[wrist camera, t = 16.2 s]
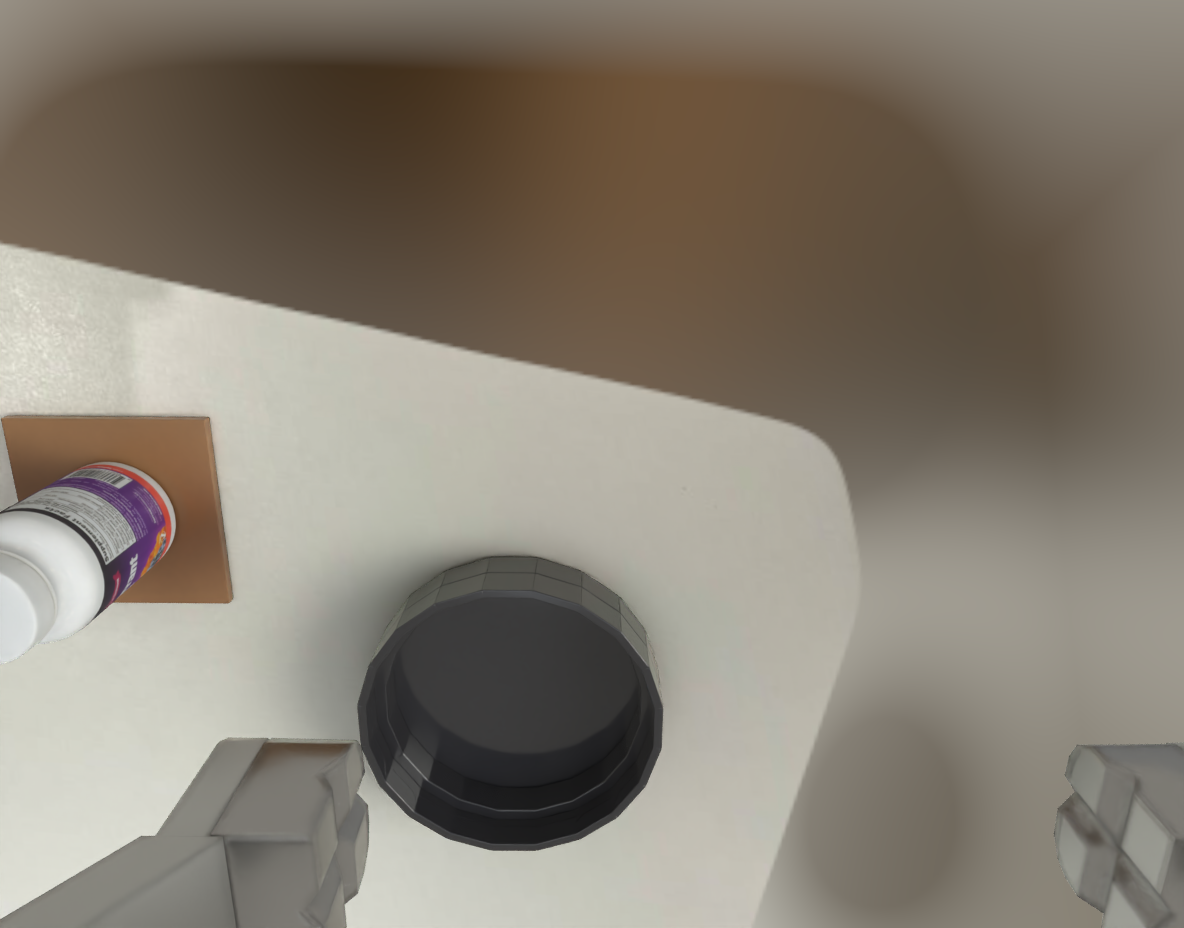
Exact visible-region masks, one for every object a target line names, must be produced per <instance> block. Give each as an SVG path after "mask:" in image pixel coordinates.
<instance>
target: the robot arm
mask: <svg viewBox="0 0 1184 928" xmlns="http://www.w3.org/2000/svg"><path fill="white" fill-rule="evenodd" d="M364 773H365V769H364V761H363V753H362V747H361V745H360V744H359V742H358V741H357V740H328V739H291V738H271V739H268V738H227V739H225V740H222V741H220V742H219V743H218V744H217V745H216V746H215V748H214V749H213V751H212V752H211V754H210V755H209V757H208V758H207V760H206V761H205V763H204V764H203V766H202V767H201V769H200V770H199V772H198V773H197V775H196V776H195V778H194V779H193V781H192V782H191V784H190V785H189V787H188V788H187V790H186V791H185V793H184V794H183V796H182V797H181V798H180V800H179V801H178V803H177V804H176V806H175V807H174V809H173V810H172V812H171V813H170V815H169V816H168V818H167V819H166V821H165V822H164V824H163V825H162V827H161V828H160V830H159V831H158V833H157V834H156V836H141V837H139V838H137V839H135V840H134V841H132V842H130V843H129V844H127V845H125V846H124V847H122V848H120V849H119V850H117V851H115V852H113V853H112V854H110V855H108V856H107V857H105V858H103V859H102V860H100V861H98V862H97V863H95V864H93V865H91V866H90V867H88V868H86V869H85V870H83V871H81V872H80V873H78V874H76V875H75V876H73V877H71V878H69V879H68V880H66V881H64V882H63V883H61V884H59V885H58V886H56V887H54V888H53V889H51V890H49V891H47V892H46V893H44V894H42V895H41V896H39V897H37V898H36V899H34V900H32V901H31V902H29V903H27V904H25V905H24V906H22V907H20V908H19V909H17V910H15V911H14V912H12V913H10V914H9V915H7V916H5V917H3V918H2V919H0V928H346V927H347V926H346V915H345V904H346V903H347V902H348V901H349V900H350V899H352V898H353V897H354V896H355V895H356V894H358V891H359V887H360V884H361V881H362V878H363V874H364V870H365V864H366V858H367V852H368V845H369V815H368V805H367V804H366V803H365V801H364V800H363V799H362V798H361V797H360V796H359V795H358V794H357V792H358V789H359V786H360V784H361V781H362V778H363V775H364ZM1065 776H1066V778H1067V780H1068V781H1069V783H1070V784H1071V786H1072V788H1073V789H1074V791H1075V792H1074V793H1073V794H1072V795H1071V796H1070V797H1069V798H1068V799H1067V800H1066V801H1065V802H1064V803H1063V804H1062V805H1061V806H1060V807H1059V808H1058V811H1057V818H1056V824H1055V831H1054V837H1055V843H1056V849H1057V857H1058V860H1059V863H1060V865H1061V868H1062V870H1063V873H1064V875H1065V878H1066V879H1067V880H1068V882H1069V884H1070V885H1071V887H1072V888H1073V890H1074V891H1075V893H1076V894H1077V896H1078V897H1079V898H1081V899H1082V900H1084V901H1086V902H1087V903H1088V904H1090V905H1091V906H1093V907H1095V908H1096V909H1098V910H1099V911H1101V912H1102V913H1104V914H1103V920H1102V926H1101V928H1184V743H1166V744H1146V745H1145V744H1144V745H1143V744H1140V745H1139V744H1138V745H1135V744H1132V745H1077V746H1076V747H1075V749H1074V750H1073V751H1072V753H1071V755H1070V756H1069V759H1068V764H1067V768H1066V772H1065Z"/></svg>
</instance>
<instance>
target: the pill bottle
mask: <svg viewBox="0 0 1184 928" xmlns="http://www.w3.org/2000/svg"><path fill="white" fill-rule="evenodd" d="M175 529H176V520H175V513H174V509H173V506H172V504H171V502H170V500H169V498H168V496H167V494H166V493H165V492H164V490H163V489H162V488H161V487H160V485H159V484H158V483H157V482H156V481H154V480H153V479H152V478H151V477H150V476H148V475H147V474H145V473H144V472H142V471H140V470H138V469H136V468H134V467H131V466H128V465H125V464H121V463H116V462H99V463H93V464H89V465H86V466H84V467H81V468H79V469H77V470H75V471H73V472H71V473H69V474H68V475H66V476H64V477H62V478H60V479H59V480H57V481H55V482H53V483H52V484H50V485H48V486H46V487H45V488H43V489H41V490H39V491H37V492H36V493H34V494H32V495H30V496H28V497H27V498H25V499H23V500H21V501H19V502H18V503H16V504H14V505H12V506H10V507H8V508H7V509H5V510H3V511H1V512H0V664H4V663H8V662H11V661H13V660H15V659H17V658H19V657H21V656H22V655H24V654H25V653H26V652H27V651H29V650H30V649H31V648H32V647H34V646H35V645H36V644H45V643H52V642H56V641H60V640H63V639H65V638H68V637H70V636H72V635H74V634H75V633H77V632H78V631H80V630H81V629H83V628H84V627H85V626H87V625H88V624H89V623H90V622H91V621H92V620H93V619H95V618H96V617H97V616H98V615H99V614H100V613H101V612H102V611H103V610H105V609H106V608H107V607H108V606H109V605H110V604H112V603H113V602H114V601H115V600H116V599H117V598H118V597H119V596H120V595H122V594H123V593H124V592H125V591H126V590H127V589H128V588H129V587H131V586H132V585H133V584H134V583H135V582H136V581H137V580H138V579H140V578H141V577H142V576H143V575H144V574H145V573H146V572H147V571H149V570H150V569H151V568H152V567H153V566H154V565H155V564H156V563H157V562H158V561H159V560H160V559H161V558H162V557H163V556H164V555H165V553H166V552H167V551H168V549H169V547H170V546H171V544H172V541H173V539H174V535H175Z"/></svg>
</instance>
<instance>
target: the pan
mask: <svg viewBox="0 0 1184 928" xmlns="http://www.w3.org/2000/svg"><path fill="white" fill-rule="evenodd" d="M357 708H358V719H359V731H360V742H361V747H362V750H363V752H364V754H365V756H366V759H367V761H368V763H369V765H370V767H371V769H372V771H373V774H374V776H375V778H376V780H377V782H378V784H379V786H380V787H381V788H382V789H383V790H384V791H385V792H386V793H387V794H388V795H389V796H390V797H391V798H392V799H393V800H394V801H395V803H396V804H397V805H398V806H399V807H400V808H401V809H402V810H403V811H404V812H405V813H406V814H407V815H408V816H409V817H411V818H412V819H414V820H416V821H418V822H419V823H421V824H423V825H424V826H426V827H428V828H430V829H431V830H433V831H435V832H436V833H438V834H440V835H442V836H443V837H445V838H447V839H450V840H454V841H458V842H461V843H465V844H469V845H472V846H476V847H480V848H484V849H487V850H494V851H536V850H537V851H538V850H541V849H545V848H549V847H553V846H557V845H561V844H565V843H569V842H572V841H576V840H579V839H582V838H583V837H585V836H587V835H588V834H590V833H592V832H594V831H595V830H597V829H599V828H600V827H602V826H604V825H606V824H607V823H609V822H611V821H612V820H614V819H616V818H617V817H618V816H619V815H620V814H621V813H622V812H623V811H624V810H625V809H626V807H627V806H628V805H629V804H630V803H631V802H632V801H633V800H634V799H635V798H636V796H637V795H638V794H639V793H640V792H641V791H642V790H643V789H644V788H645V786H646V784H647V782H648V780H649V777H650V775H651V772H652V770H653V768H654V765H655V763H656V761H657V758H658V756H659V753H660V751H661V748H662V725H663V703H662V696H661V689H660V682H659V674H658V667H657V664H656V661H655V658H654V655H653V652H652V649H651V646H650V643H649V640H648V637H647V634H646V631H645V630H644V628H643V626H642V625H641V624H640V622H639V621H638V620H637V619H636V617H635V616H634V615H633V613H632V612H631V611H630V610H629V608H628V607H627V606H626V604H625V603H624V602H623V601H622V599H621V598H620V597H618V595H616V594H615V593H613V592H612V591H611V590H609V589H608V588H606V587H605V586H603V585H602V584H600V583H599V582H597V581H596V580H594V579H593V578H591V577H590V576H588V575H587V574H585V573H584V572H581V571H580V570H577V569H574V568H570V567H567V566H564V565H560V564H557V563H554V562H551V561H547V560H544V559H541V558H537V557H491V558H487V559H483V560H480V561H476V562H473V563H470V564H466V565H463V566H459V567H456V568H453V569H449V570H448V571H445V572H443V573H442V574H440V575H439V576H437V577H436V578H434V579H433V580H431V581H430V582H429V583H427V584H426V585H424V586H423V587H421V588H420V589H418V590H417V591H415V592H414V593H412V594H411V595H410V596H409V598H408V599H407V600H406V602H405V603H404V604H403V606H402V607H401V608H400V610H399V611H398V612H397V614H396V615H395V616H394V618H393V619H392V620H391V622H390V623H389V624H388V626H387V628H386V630H385V632H384V634H383V636H382V638H381V640H380V643H379V645H378V647H377V649H376V651H375V653H374V655H373V658H372V660H371V662H370V664H369V666H368V670H367V673H366V677H365V680H364V684H363V687H362V691H361V694H360V698H359V701H358V706H357Z"/></svg>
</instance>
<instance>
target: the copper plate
mask: <svg viewBox="0 0 1184 928" xmlns="http://www.w3.org/2000/svg"><path fill="white" fill-rule="evenodd" d="M1 421H2V426H3V431H4V436H5V440H6V445H7V450H8V455H9V459H10V464H11V469H12V474H13V479H14V483H15V488H16V493H17V498H18V502H19V501H21V500H23V499H25V498H27V497H28V496H30V495H32V494H34V493H36V492H37V491H39V490H41V489H43V488H45V487H46V486H48V485H50V484H52V483H53V482H55V481H57V480H59V479H60V478H62V477H64V476H66V475H68V474H69V473H71V472H73V471H75V470H77V469H79V468H81V467H84V466H86V465H89V464H93V463H99V462H116V463H121V464H125V465H128V466H131V467H134V468H136V469H138V470H140V471H142V472H144V473H145V474H147V475H148V476H150V477H151V478H152V479H153V480H154V481H156V482H157V483H158V484H159V485H160V487H161V488H162V489H163V490H164V492H165V493H166V494H167V496H168V498H169V500H170V502H171V504H172V506H173V509H174V513H175V520H176V529H175V535H174V539H173V541H172V544H171V546H170V547H169V549H168V551H167V552H166V553H165V555H164V556H163V557H162V558H161V559H160V560H159V561H158V562H157V563H156V564H155V565H154V566H153V567H152V568H151V569H150V570H149V571H147V572H146V573H145V574H144V575H143V576H142V577H141V578H140V579H138V580H137V581H136V582H135V583H134V584H133V585H132V586H131V587H129V588H128V589H127V590H126V591H125V592H124V593H123V594H122V595H120V596H119V597H118V598H117V599H116V600H115V601H114V602H119V603H230V602H231V601H232V599H233V595H232V587H231V580H230V572H229V565H228V557H227V550H226V542H225V534H224V527H223V519H222V512H221V504H220V497H219V489H218V482H217V474H216V467H215V459H214V452H213V444H212V437H211V429H210V422H209V418H208V417H107V416H6V417H4V418H1Z"/></svg>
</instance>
